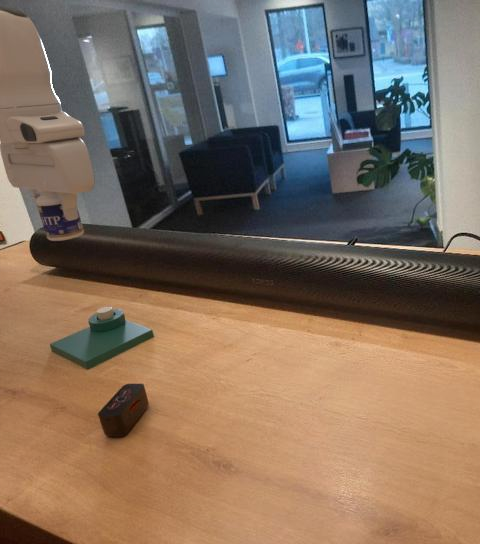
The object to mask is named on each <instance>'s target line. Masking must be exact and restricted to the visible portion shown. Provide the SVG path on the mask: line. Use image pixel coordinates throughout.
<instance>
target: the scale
mask: <svg viewBox="0 0 480 544" xmlns="http://www.w3.org/2000/svg"><path fill="white" fill-rule="evenodd" d="M112 309H113V313H114V317H112V318H109V319H106V320H99V319H98V316H97V313H93V314H92V315H90V317H88V321H87V323H88V325H89V326H88V327H86V328H83V329H81V330H79V331H76V332H73V333H71V334H69V335H67V336H64V337H63V338H60V339H58V340H55V341H53V342H51V343H49V347H50V350H51V352H52V353H54V354H56V355H58V356H60V357H62V358H64V359H66V360H67V361H70V362H72V363H74V364H76V365H78V366H79V367H82V368H84V369H86V370H90V369H92V368H94V367H96V366H98V365H101V364H103V363H105V362H106V361H108V360H110V359H112V358H115V357H116V356H119V355H120V354H122V353H125V352H126V351H128V350H131V349H133V348H134V347H137V346H138V345H140V344H142V343H144V342H147V341H149V340H150V339H153V338H154V337H155V334H154V330H153V329H152V328H149V327H146V326H143V325H141V324H138V323H136V322H133V321H130V320H127V319H126V316H125V311H124V310H123V309H119V308H112Z"/></svg>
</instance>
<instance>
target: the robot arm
mask: <svg viewBox="0 0 480 544" xmlns="http://www.w3.org/2000/svg"><path fill="white" fill-rule="evenodd" d="M52 83H53V82H52V70H51V67H50V63H49V60H48V57H47V54H46V51H45V47H44V44H43V42H42V39H41V36H40V34H39V32H38V29H37V28H36V26H35V24H34V23H33V21H32V20H31V18H30V17H29V16H28V14H26V13H25V12H23V11H21V10H19V9H16V8H11V7H6V6H0V156H1V160H2V163H3V167H4V170H5V174H6V177H7V179H8V182H9V184H10V185H11V186H12V187H13V188H16V189H23V190H24V189H26V190H29V193H30V196H31V198H32V199H33V200H34V202H35V203H36V200H37V198H39V197H40V193H38V191H37V189H36V184H38V185H39V187H40V188H41V189H42V190H43V191H49V192H57V195H58V198H59V199H61V205H62V209H60V212H61V215H62V218H63V219H64V220H68V221H71V220H75V219H78V212H79V211H78V212H77V209H78V208H77V209H76V206H77V204H78V194H81V193H86V192H90V191H92V190H94V187H95V181H96V179H95V175H94V169H93V166H92V161H91V157H90V153H89V150H88V148H87V145H86V143H85V142H84V139H82V138H84V137H85V136H86V132H85V128H84V125H83V123H82V122H81V121H80V120H79V119H76V118H74V117H72V116H70V115H69V114H68V113H66V112H65V111H63V109H62V105H61V101H60V99H59V97H58V95H56V93H55V90H54V88H53V84H52ZM77 207H78V206H77Z"/></svg>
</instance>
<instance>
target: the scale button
mask: <svg viewBox="0 0 480 544" xmlns="http://www.w3.org/2000/svg"><path fill="white" fill-rule="evenodd" d="M113 309H114V308H113V307H112V306H103V307H101V308H98V309H97V310H96V311H95V312H96V313H97V316H98V319H99V320H106V319H109V318H112V317H114V313H113ZM96 313H95V314H96Z"/></svg>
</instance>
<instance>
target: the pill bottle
mask: <svg viewBox="0 0 480 544" xmlns="http://www.w3.org/2000/svg"><path fill="white" fill-rule="evenodd" d="M36 189H37V191H38V193H40V197H39V198H37V200H36V202H35V205H36V209H37V211H38V214H39V216H40V221H41V223H42V227H43V229H44V233H45V235H46V239H47V240H49V241H52V242H59V241H60V242H61V241H67V240H72V239H75V238H78V237H80V236H83V235H84V233H85V230H84V226H83V222H82V220H81V219H82V218H81V216H80V213H79V212H80V211H79V209H78V206H76V209H77V212H78V219H75V220H71V221H68V220H64V219H63V218H62V215H61V212H60V209H62V205H61V199H59V198H58V195H57V192H49V191H43V190H42V189H41V188H40V187H39V185H38V184H36Z"/></svg>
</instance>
